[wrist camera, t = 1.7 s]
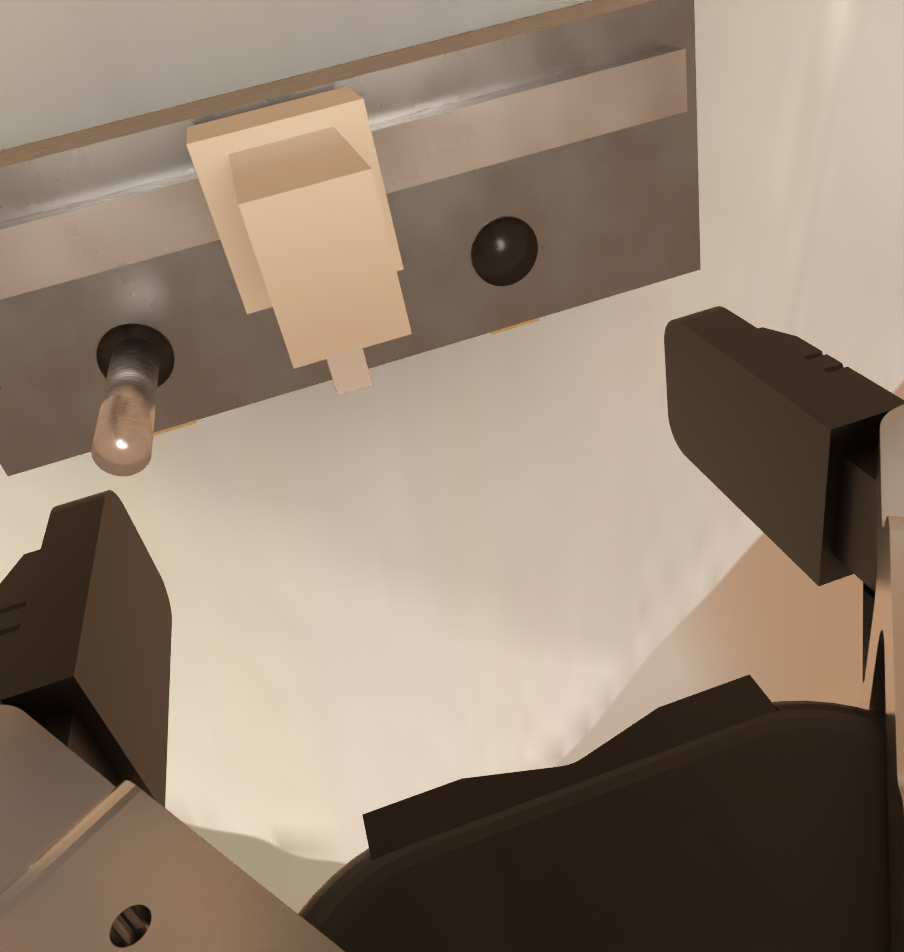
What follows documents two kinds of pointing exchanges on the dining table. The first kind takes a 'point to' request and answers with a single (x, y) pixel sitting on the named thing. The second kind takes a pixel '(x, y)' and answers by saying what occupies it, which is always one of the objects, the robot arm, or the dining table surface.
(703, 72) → the dining table surface
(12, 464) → the hole bar
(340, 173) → the tan slider handle
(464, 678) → the dining table surface
